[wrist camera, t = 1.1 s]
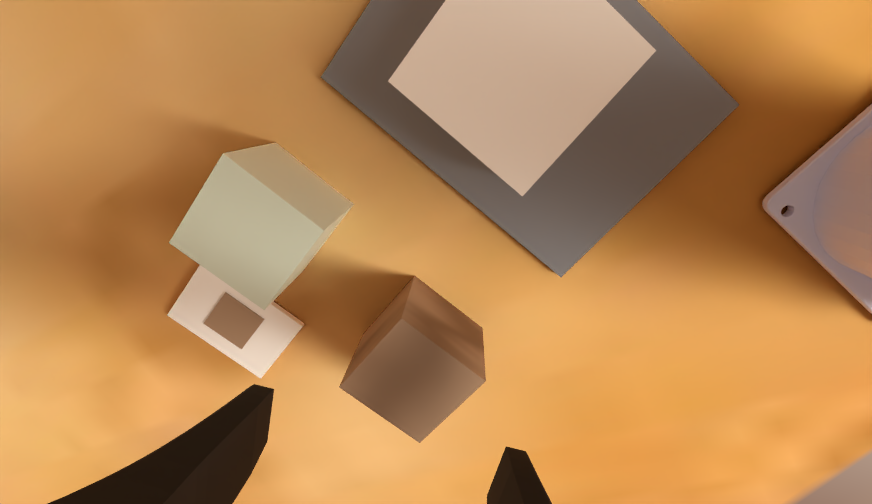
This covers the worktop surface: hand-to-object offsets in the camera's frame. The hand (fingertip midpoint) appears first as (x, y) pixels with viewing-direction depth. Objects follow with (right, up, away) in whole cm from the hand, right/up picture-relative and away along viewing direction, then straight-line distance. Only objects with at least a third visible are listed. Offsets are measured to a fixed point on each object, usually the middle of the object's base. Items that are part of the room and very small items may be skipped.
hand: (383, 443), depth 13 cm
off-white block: (+4, +13, +5) cm, 15 cm away
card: (-9, +2, +10) cm, 14 cm away
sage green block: (-6, +8, +8) cm, 12 cm away
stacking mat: (+5, +13, +5) cm, 15 cm away
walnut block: (+1, +2, +10) cm, 10 cm away
